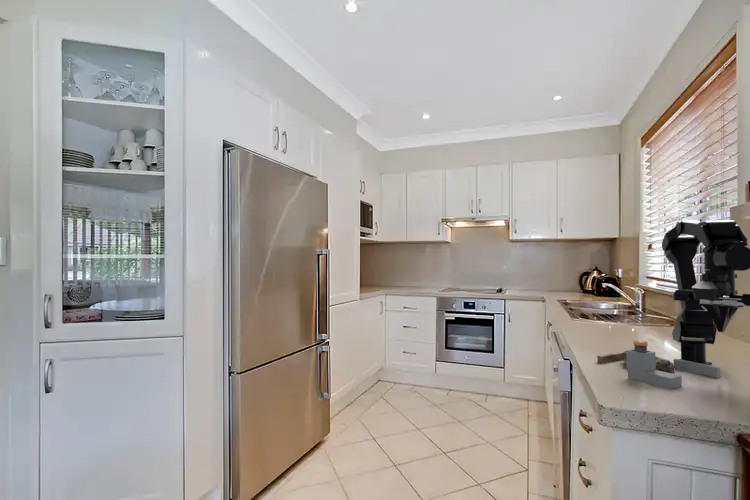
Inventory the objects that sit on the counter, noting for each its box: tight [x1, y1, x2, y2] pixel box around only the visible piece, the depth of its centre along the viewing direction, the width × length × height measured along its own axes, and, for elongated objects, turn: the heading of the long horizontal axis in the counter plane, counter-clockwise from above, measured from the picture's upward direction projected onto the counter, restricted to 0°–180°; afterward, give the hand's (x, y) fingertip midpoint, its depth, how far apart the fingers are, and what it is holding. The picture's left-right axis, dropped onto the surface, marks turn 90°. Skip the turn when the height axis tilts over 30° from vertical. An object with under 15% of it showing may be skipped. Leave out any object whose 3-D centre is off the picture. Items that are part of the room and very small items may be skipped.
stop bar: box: [596, 351, 623, 364], centre depth 118 cm, size 10×1×2 cm, turn 116°
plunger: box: [633, 340, 648, 353], centre depth 100 cm, size 3×3×6 cm
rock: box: [620, 350, 675, 373], centre depth 110 cm, size 11×12×4 cm
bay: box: [625, 348, 721, 390], centre depth 101 cm, size 22×10×7 cm, turn 115°
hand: (721, 331), depth 99 cm, fingers closed
